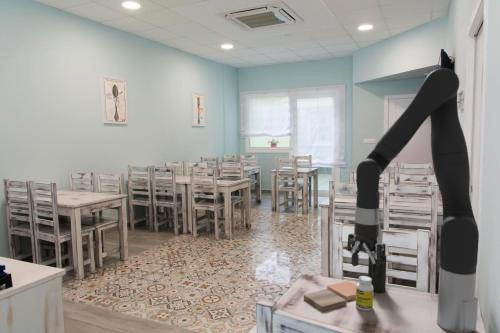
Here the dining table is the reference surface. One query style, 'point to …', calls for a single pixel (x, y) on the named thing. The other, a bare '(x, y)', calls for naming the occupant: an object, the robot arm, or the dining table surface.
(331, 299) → the walnut mat
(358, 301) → the supplement bottle
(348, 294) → the terracotta tile
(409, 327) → the dining table surface
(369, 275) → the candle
